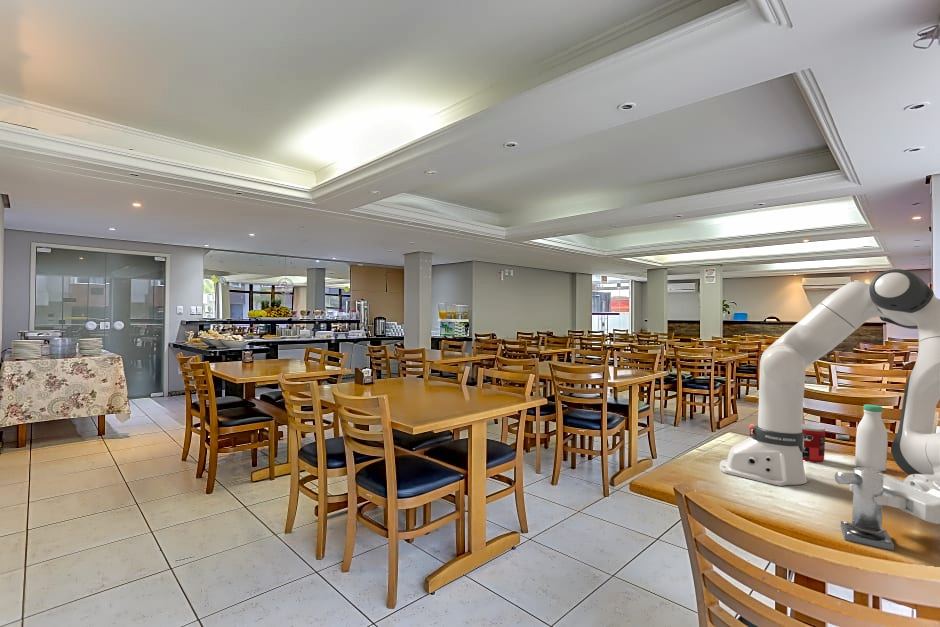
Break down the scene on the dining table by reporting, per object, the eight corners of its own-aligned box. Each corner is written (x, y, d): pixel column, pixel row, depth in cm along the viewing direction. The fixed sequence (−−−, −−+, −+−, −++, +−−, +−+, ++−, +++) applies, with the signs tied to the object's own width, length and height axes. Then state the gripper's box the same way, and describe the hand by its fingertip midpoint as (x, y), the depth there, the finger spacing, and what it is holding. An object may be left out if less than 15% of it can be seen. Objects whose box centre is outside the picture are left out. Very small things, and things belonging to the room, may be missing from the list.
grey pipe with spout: (868, 521, 107) (870, 467, 107) (888, 531, 102) (890, 475, 102) (828, 520, 107) (830, 466, 107) (846, 530, 102) (847, 474, 102)
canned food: (790, 454, 165) (791, 423, 165) (815, 456, 164) (816, 424, 164) (802, 462, 157) (803, 428, 157) (829, 463, 156) (830, 430, 156)
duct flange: (844, 540, 103) (845, 533, 103) (840, 526, 110) (840, 519, 110) (893, 550, 99) (894, 543, 99) (886, 535, 106) (886, 529, 106)
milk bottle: (886, 473, 147) (888, 409, 147) (854, 467, 153) (856, 405, 152) (886, 468, 153) (889, 405, 153) (855, 462, 158) (858, 402, 158)
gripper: (886, 465, 115) (828, 463, 115) (976, 499, 94) (905, 497, 94) (885, 491, 115) (827, 489, 115) (975, 531, 94) (904, 529, 94)
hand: (863, 493), depth 104 cm, fingers closed on grey pipe with spout, 5 cm apart
